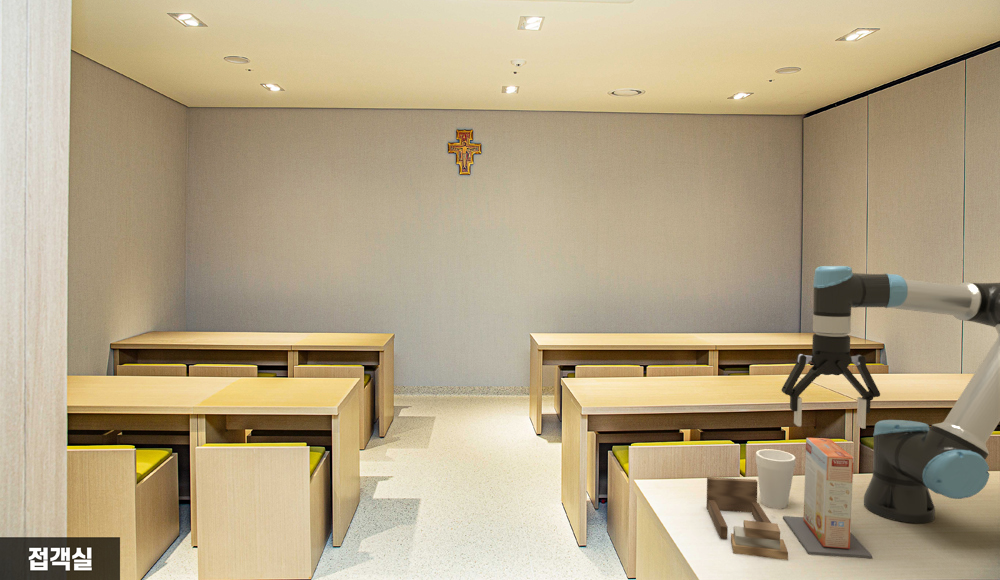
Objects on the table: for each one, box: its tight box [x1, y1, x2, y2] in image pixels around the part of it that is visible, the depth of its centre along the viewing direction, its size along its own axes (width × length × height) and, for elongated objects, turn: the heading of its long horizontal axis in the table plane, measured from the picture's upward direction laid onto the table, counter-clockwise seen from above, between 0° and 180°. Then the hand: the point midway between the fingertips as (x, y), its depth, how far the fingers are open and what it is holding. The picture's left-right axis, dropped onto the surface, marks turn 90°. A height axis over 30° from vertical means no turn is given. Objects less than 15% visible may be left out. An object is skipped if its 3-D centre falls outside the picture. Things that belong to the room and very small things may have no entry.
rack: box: [706, 476, 772, 540], centre depth 147 cm, size 12×18×8 cm
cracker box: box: [802, 437, 855, 549], centre depth 139 cm, size 14×6×21 cm, turn 170°
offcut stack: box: [730, 519, 789, 561], centre depth 134 cm, size 11×6×6 cm, turn 74°
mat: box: [782, 515, 874, 559], centre depth 140 cm, size 13×18×1 cm
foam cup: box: [755, 448, 797, 510], centre depth 158 cm, size 10×9×13 cm
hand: (829, 426), depth 138 cm, fingers open, 13 cm apart
